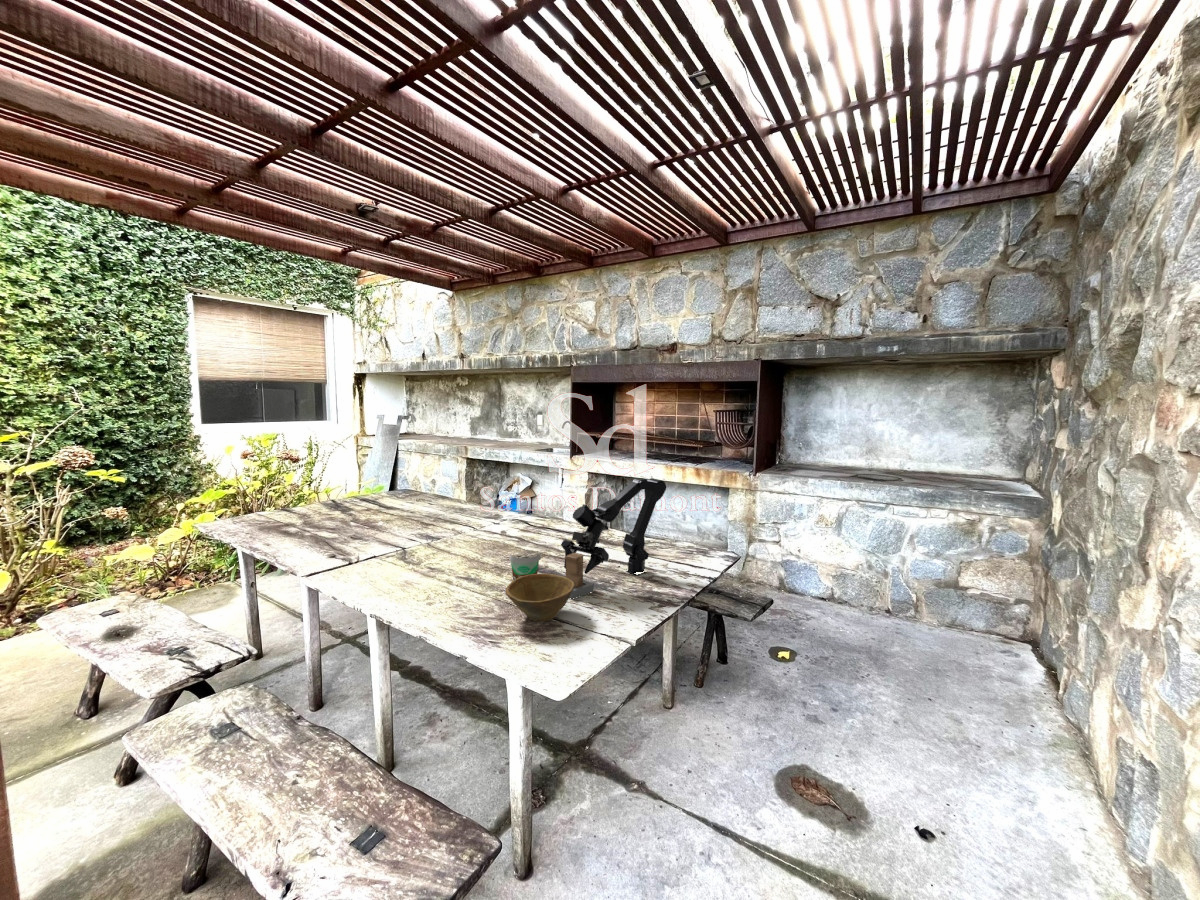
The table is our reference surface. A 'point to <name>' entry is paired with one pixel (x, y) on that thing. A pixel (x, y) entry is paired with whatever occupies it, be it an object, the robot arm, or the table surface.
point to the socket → (582, 590)
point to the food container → (524, 565)
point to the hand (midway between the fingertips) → (574, 570)
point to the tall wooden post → (575, 569)
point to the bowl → (540, 595)
